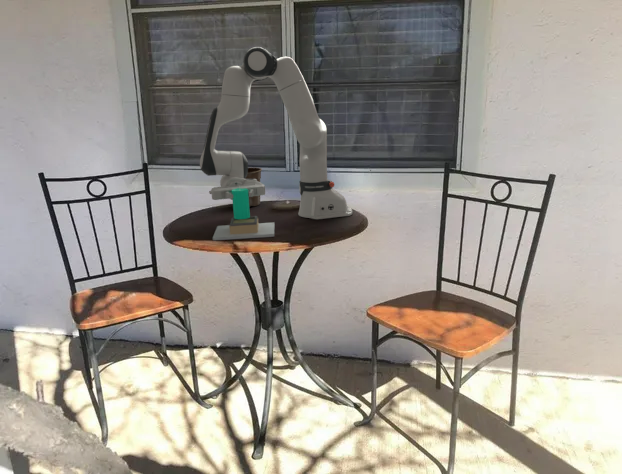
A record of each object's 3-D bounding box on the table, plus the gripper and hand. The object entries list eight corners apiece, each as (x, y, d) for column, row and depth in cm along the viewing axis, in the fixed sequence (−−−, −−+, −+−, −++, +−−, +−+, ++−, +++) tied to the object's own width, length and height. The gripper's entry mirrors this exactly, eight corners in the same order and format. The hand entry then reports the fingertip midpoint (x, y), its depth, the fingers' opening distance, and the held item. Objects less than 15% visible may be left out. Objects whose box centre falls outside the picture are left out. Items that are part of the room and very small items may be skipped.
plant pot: (224, 209, 227) (220, 173, 222) (234, 201, 242) (231, 167, 237) (259, 208, 224) (256, 172, 219) (267, 200, 239) (265, 166, 235)
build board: (274, 224, 197) (273, 212, 196) (274, 236, 182) (273, 223, 181) (217, 228, 196) (216, 216, 195) (212, 240, 181) (211, 227, 180)
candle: (247, 219, 184) (244, 187, 180) (231, 219, 185) (228, 187, 182) (252, 215, 190) (250, 183, 186) (237, 215, 191) (234, 183, 187)
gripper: (207, 183, 193) (212, 189, 180) (260, 178, 199) (267, 184, 186) (209, 199, 195) (213, 207, 182) (261, 194, 201) (269, 201, 188)
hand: (241, 195), depth 184 cm, fingers closed on candle, 5 cm apart
